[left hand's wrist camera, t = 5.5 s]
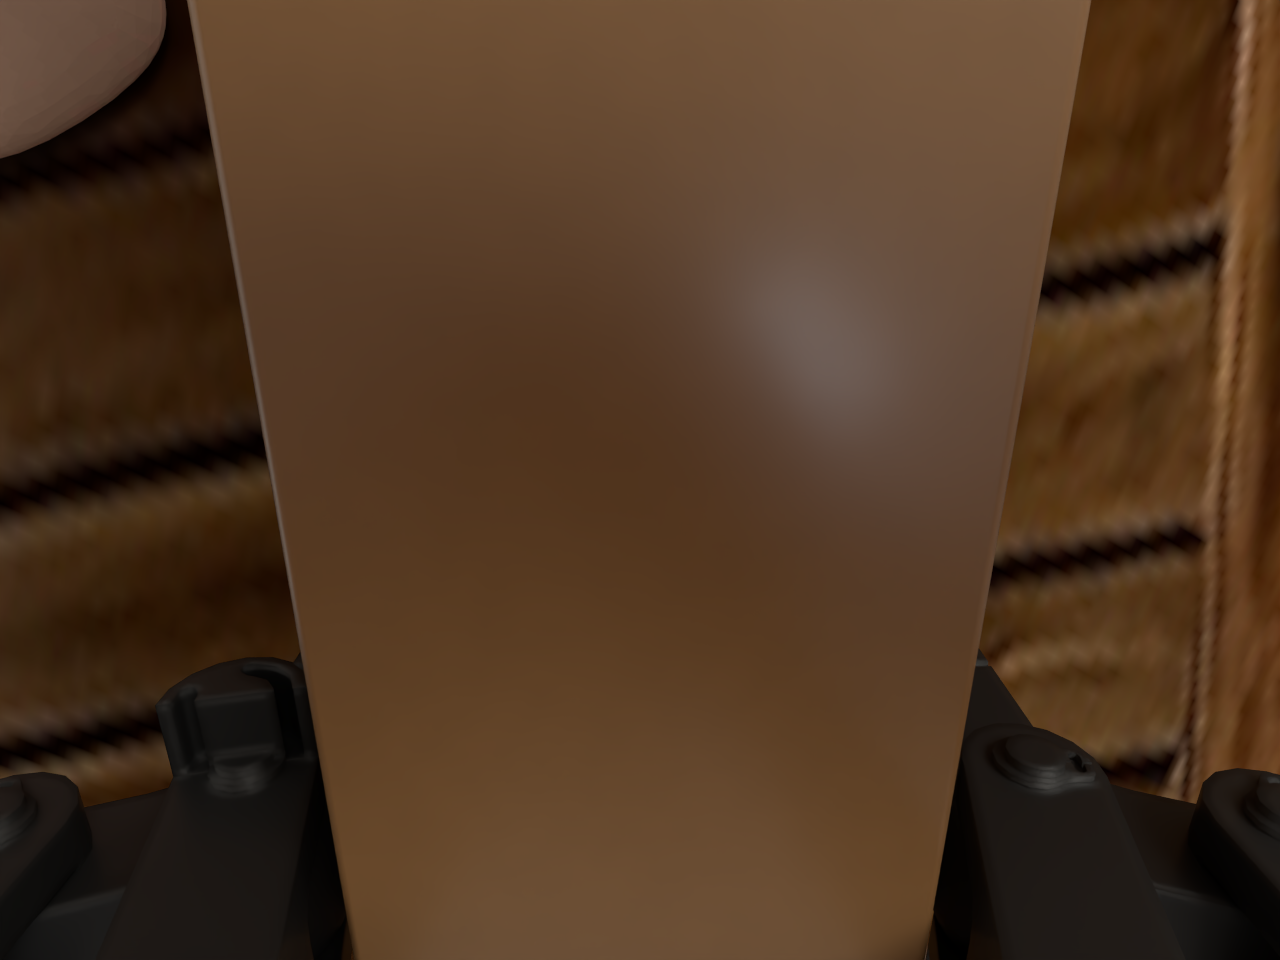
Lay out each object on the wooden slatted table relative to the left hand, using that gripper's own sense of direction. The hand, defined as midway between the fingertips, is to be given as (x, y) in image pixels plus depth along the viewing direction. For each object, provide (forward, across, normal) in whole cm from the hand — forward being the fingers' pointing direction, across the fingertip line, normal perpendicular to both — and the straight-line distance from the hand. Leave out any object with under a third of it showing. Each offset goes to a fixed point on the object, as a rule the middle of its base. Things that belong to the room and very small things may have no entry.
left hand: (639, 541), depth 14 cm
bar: (+1, 0, -10) cm, 10 cm away
